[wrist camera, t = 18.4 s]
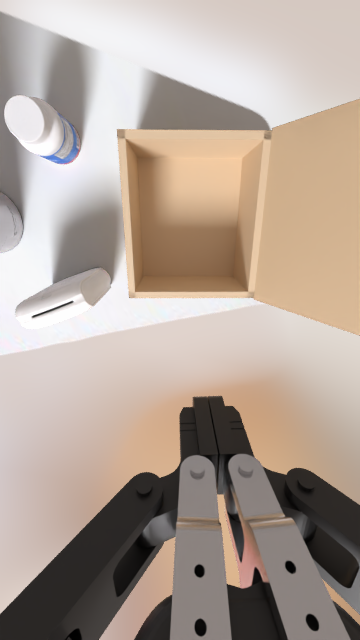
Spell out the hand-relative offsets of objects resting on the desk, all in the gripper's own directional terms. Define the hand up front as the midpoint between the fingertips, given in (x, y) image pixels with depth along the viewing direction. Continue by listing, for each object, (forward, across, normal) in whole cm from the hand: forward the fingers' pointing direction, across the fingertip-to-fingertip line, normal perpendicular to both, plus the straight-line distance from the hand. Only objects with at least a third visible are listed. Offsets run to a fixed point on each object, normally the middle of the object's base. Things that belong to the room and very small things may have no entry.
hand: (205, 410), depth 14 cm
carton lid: (+14, -13, -8) cm, 21 cm away
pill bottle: (+32, +16, -19) cm, 40 cm away
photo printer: (+32, +17, +1) cm, 36 cm away
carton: (+31, -1, -9) cm, 33 cm away
